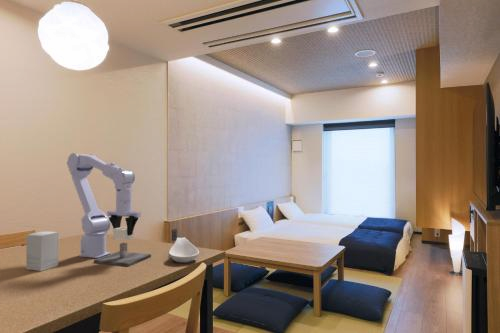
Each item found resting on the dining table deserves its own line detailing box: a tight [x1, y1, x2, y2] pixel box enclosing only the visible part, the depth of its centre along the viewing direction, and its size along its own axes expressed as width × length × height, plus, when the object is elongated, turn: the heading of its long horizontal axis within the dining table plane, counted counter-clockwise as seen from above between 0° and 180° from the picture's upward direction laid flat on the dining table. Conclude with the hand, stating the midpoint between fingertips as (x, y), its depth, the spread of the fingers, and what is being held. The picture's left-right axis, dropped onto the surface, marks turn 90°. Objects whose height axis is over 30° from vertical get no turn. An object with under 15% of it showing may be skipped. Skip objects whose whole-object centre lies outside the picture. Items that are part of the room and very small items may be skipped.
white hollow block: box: [112, 226, 134, 241], centre depth 132 cm, size 5×5×4 cm
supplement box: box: [25, 230, 59, 272], centre depth 121 cm, size 7×7×13 cm
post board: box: [93, 242, 152, 267], centre depth 132 cm, size 16×14×6 cm
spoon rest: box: [168, 236, 200, 264], centre depth 136 cm, size 24×12×7 cm, turn 19°
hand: (123, 234), depth 132 cm, fingers closed on white hollow block, 5 cm apart
